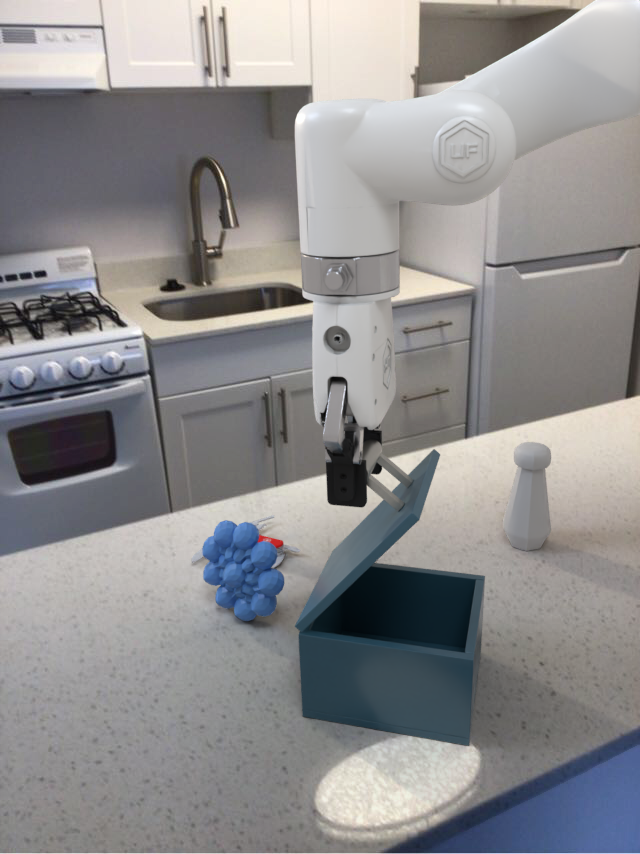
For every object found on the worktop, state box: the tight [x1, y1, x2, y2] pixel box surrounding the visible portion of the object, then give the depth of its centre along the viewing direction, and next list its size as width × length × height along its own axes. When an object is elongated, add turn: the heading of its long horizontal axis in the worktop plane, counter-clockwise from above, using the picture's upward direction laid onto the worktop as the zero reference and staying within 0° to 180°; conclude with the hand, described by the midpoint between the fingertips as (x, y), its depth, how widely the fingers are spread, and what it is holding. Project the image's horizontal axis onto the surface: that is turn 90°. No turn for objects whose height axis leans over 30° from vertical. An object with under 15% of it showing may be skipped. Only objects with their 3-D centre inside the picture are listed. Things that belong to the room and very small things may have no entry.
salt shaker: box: [502, 441, 552, 552], centre depth 91 cm, size 6×6×13 cm
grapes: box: [201, 519, 285, 622], centre depth 79 cm, size 12×7×12 cm, turn 49°
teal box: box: [297, 562, 486, 747], centre depth 69 cm, size 15×13×9 cm
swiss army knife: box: [191, 514, 301, 569], centre depth 94 cm, size 12×14×2 cm
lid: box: [294, 439, 441, 632], centre depth 66 cm, size 15×13×6 cm
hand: (356, 485), depth 64 cm, fingers closed on lid, 5 cm apart
